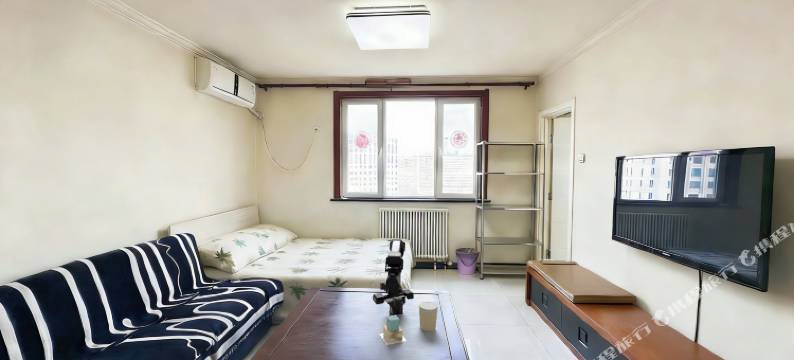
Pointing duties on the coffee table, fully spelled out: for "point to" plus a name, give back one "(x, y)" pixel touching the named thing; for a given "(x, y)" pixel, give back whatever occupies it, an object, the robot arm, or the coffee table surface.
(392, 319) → the teal block
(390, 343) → the baseplate
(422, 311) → the coffee cup
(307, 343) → the coffee table surface
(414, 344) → the coffee table surface
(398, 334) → the maple brick
